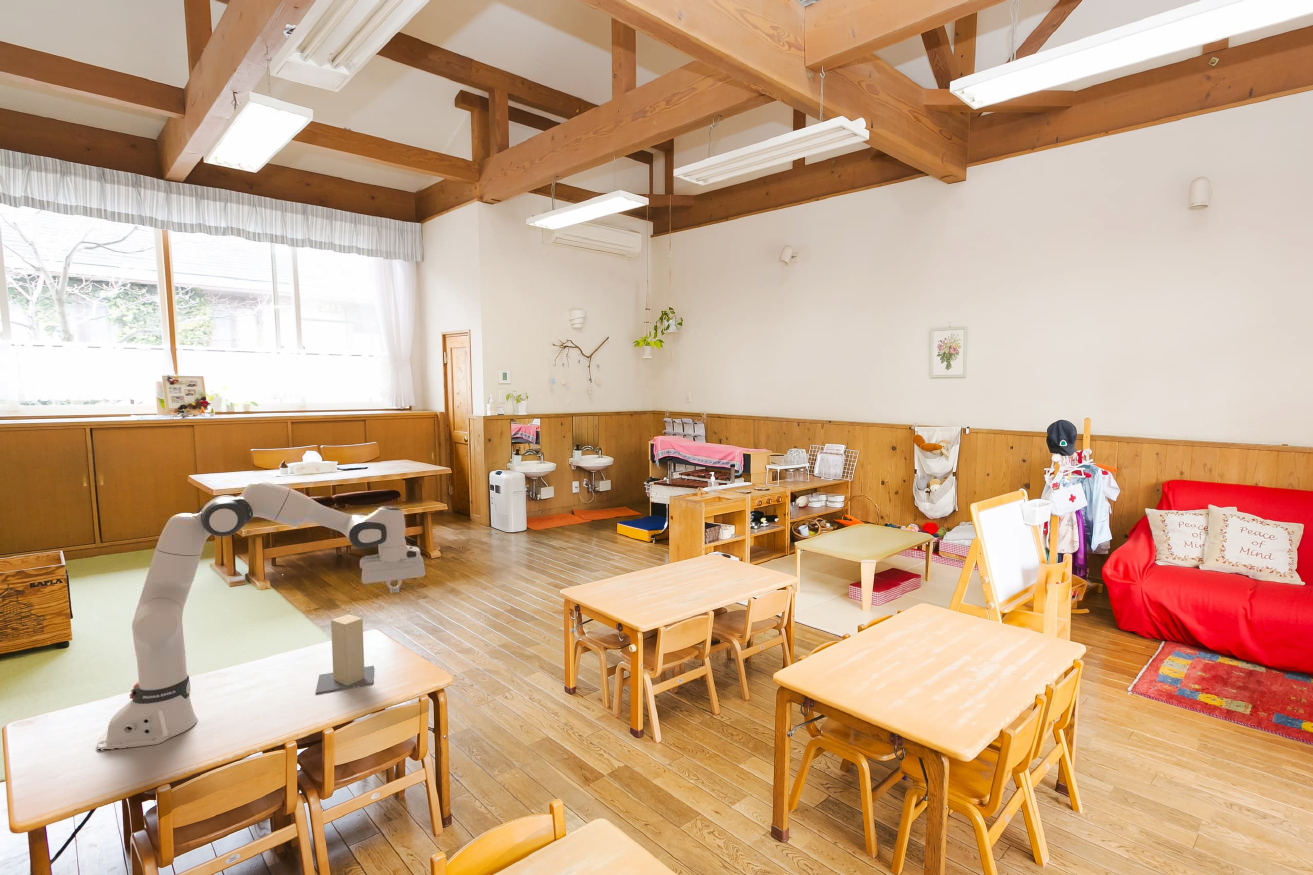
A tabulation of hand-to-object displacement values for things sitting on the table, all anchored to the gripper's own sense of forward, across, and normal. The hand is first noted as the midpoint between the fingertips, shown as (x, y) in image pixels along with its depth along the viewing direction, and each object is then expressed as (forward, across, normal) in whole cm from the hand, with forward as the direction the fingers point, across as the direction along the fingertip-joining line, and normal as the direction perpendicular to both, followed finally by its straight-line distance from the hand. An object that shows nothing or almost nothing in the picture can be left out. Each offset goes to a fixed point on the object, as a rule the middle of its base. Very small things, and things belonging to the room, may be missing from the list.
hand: (394, 592), depth 218 cm
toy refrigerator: (+28, -15, 0) cm, 32 cm away
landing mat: (+28, -17, +1) cm, 33 cm away
